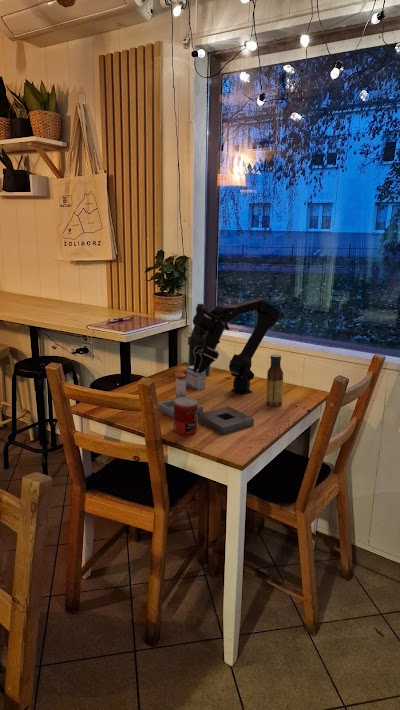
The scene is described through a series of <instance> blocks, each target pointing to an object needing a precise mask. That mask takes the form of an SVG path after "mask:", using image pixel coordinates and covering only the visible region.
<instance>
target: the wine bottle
mask: <svg viewBox="0 0 400 710" xmlns="http://www.w3.org/2000/svg"><path fill="white" fill-rule="evenodd" d="M196 304H197V305H196V307H195V315H196V314H197V313H198V312H200V311H201V309H203V310H206V306H205V303H196ZM206 311H207V310H206ZM206 333H207V331H204V330H202V329H201V328H199V327H197V326H195V325H194V327H193V330H192V331H191V334H190V336H189V337H194V335H199V336H200V338H202V337H203V335H206ZM197 346H198V345H188V360H187V363H188V365H187V367H189V366H194V363H195V356H194V354H193V350H194V348H195V347H197ZM205 370H206V376H208V375H210V374H211V364H210V365H209V366H208V367H207V368H206V369H205Z"/></svg>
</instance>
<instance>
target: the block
mask: <svg viewBox="0 0 400 710" xmlns="http://www.w3.org/2000/svg"><path fill="white" fill-rule="evenodd" d="M197 422H199V423H201V424H203V425H205V426H206V427H207V428H209V429H211V430H214V431H216V432H217V433H219V434H221V435H226V434H229V433H233V432H236V431H240V430H242V429H247V428H250V427H254V425H255V418H253V417H252V416H249V415H248V414H245V413H243V412H241V411H240V410H236V409H235V408H232V407H230V406H229V405H228V406H225V407H221V408H217V409H213V410H210V411H209V410H208V411H205V412H203V413H200V414H197Z"/></svg>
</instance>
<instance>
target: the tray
mask: <svg viewBox="0 0 400 710" xmlns="http://www.w3.org/2000/svg"><path fill="white" fill-rule="evenodd" d="M175 399H176V398H175ZM175 399H169V400H166V401H165V400H164V401H161V402H158V403H157V409H158V408H159V410H158V411H160V412H162V413H164V414H165V415H167V416H168V417H171V418H172V419H174V400H175ZM197 406H198V407H197V415H198V414H201V413H204V406H203V405H201V404H200V403H198V404H197Z"/></svg>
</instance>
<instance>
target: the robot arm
mask: <svg viewBox="0 0 400 710" xmlns="http://www.w3.org/2000/svg"><path fill="white" fill-rule="evenodd" d="M254 311H255V312H256V314H258V315H257V324H256V326H255V327H254V329H253V330H252V333H251V335H249V338H248V340H247V341H246V343H245V345H244V347H243V349H242V351H241V352H240V353H238V354H236V353H235V354H233V356H232V358H231V360H230V361H229V365H228V368H229V372H230V375H231V376H232V377H233V379H234V380H233V382H232V383H233V386H232V388H231V389H230V391H232V392H234V393H235V394H238V395H240V396H241V395H246V394H249V393H253V391H252V390H251V388H250V386H251V385H250V384H251V380H254V377H255V373H254V372H253V371H252V370H251V368H252V363H253V362H252V358H253V356H254V355H255V353H256V352H257V349H258V348H259V346H260V345H261V342H262V341H263V338H264V337H265V336H266V333H267V332H268V330H270V329H271V328H272V327H273V326H275V325H276V324H277V323H278V321H279V320H280V317H281V314H280V311H279V309H277V308H275V307H274V306H272V305H271V304H270V303H268V302H267V301H266V300H265V299H263V298H258V297H254V298H253V299H249V300H246V301H243V302H239V303H235V304H218V305H216V306H215V308H214V309H212V310H210V311H209V312H208V311H207V310H203V309H201V311H200V312H198V313H197V314H196V313H195V315H194V316H193V319H192V323H193V325H194V326H197V327H199V328H201V329H202V330H204V331H207V333H206V335H203V337H202V338H200V336H199V335H194V337H190V336H187V345H188V346H189V345H198V346H197V347H195V348H194V350H193V354H194V356H195V363H194V368H193V371H194V372H196V371H197V370H198V373H202V372H203V371H204V370H205V369H206V368H207V367H208V366H209V365H210V366H211V365H212V364H213V363H214V362H215V361H216V360H217V359H218V358H219V356H220V354H219V351H217V350H216V348H217V346H218V344H220V343H221V340H220V339H221V337H222V335H223V333H224V331H225V330H227V331H230V328H229V324H228V323H229V322H231V321H233V320H235V319H236V318H237V317H238V316H240V315H243V314H246V313H251V312H254Z"/></svg>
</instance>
